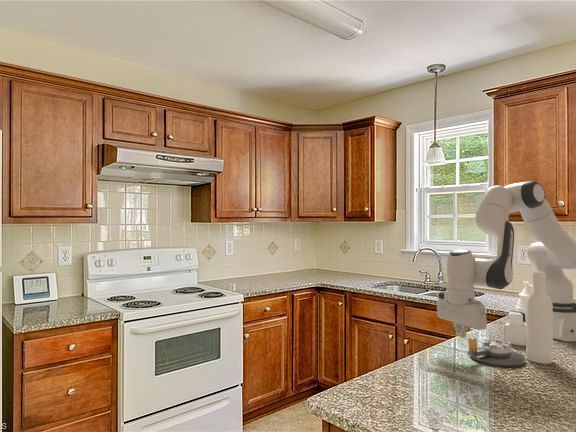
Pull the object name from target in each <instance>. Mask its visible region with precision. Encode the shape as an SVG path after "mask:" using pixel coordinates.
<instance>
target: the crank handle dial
mask: <svg viewBox="0 0 576 432" xmlns="http://www.w3.org/2000/svg"><path fill="white" fill-rule="evenodd" d="M481 345H482V346H481V347H482V349H479V350H477V348H478V339H477V338H476V337H475V338H474V337H468V351H467V352H466V353H467V355H468V356H470V355H471V356H475V355H481V354H485V355H488V356H491V357H498V358H508V357H511V351H512V344H511V343H510V342H506V343H505V342H503V339H500V338H496V339H495V340H494V341H492V340H491V338H484V339H483V340H482V341H481Z"/></svg>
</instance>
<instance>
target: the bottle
mask: <svg viewBox="0 0 576 432" xmlns="http://www.w3.org/2000/svg"><path fill="white" fill-rule="evenodd" d="M545 278H546V276H545V272H538V271H532V285H533V293H531V294H530V295H529V296H528V298H527V301H526V321H525V324H526V345H525V347H526V348H525V355H526V358H525V359H526V360H527V361H529V362H532V363H535V364H540V365H541V364H543V365H544V364H545V365H547V364H548V365H550V364H552V363H553V362H554V338H553V304H552V301H551V298H550V297H549V296H548V295H547V294H546V293H545Z"/></svg>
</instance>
